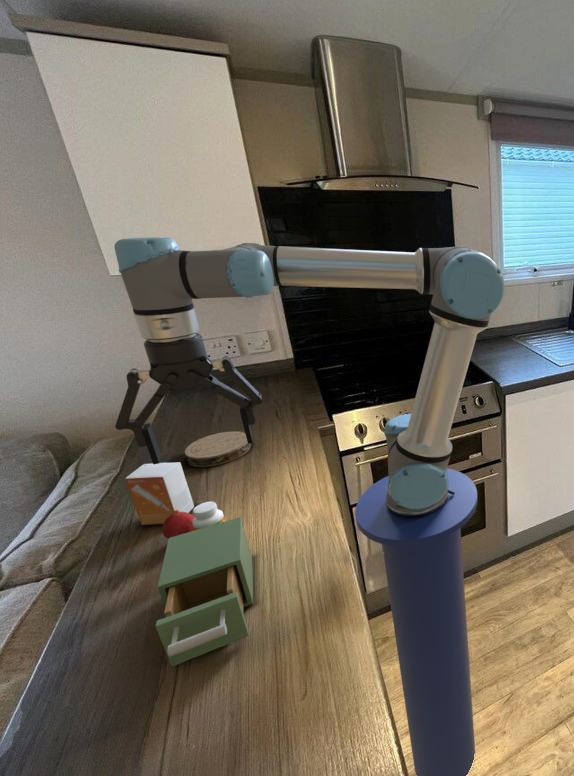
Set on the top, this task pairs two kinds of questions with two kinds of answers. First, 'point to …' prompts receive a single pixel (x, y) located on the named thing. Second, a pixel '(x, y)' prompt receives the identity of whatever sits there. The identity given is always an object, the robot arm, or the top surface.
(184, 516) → the onion
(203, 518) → the supplement bottle
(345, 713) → the top surface
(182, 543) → the cabinet
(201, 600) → the drawer
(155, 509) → the small box
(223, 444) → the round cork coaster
